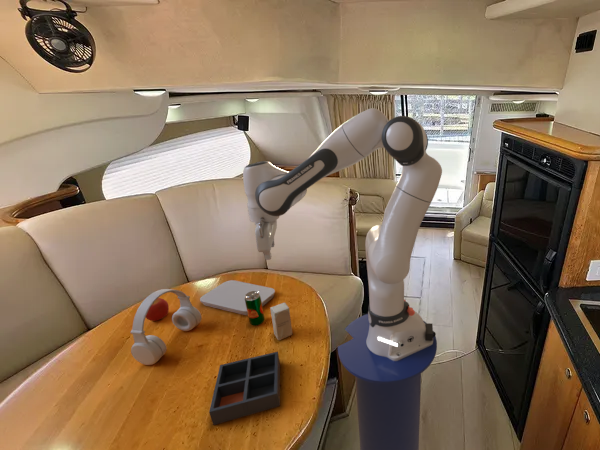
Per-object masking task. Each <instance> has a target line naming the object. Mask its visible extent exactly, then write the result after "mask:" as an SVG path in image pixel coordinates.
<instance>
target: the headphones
mask: <svg viewBox="0 0 600 450" xmlns="http://www.w3.org/2000/svg"><path fill="white" fill-rule="evenodd" d="M167 293H172V294H174V295H176V296H177V299H178V300H179V308H178V309H177V311H175V312H174V313H173V314H172V316H171V323H172V324H173V325H174V327H176V328H177V329H178V330H180V331H184V332H188V331H191V330H193V329H194V328H195V327H197V326H199V324H200V323H201V322H202V319H203V318H202V314H201V312H200V311H199V309H198V308H197V307H195V306H194V305H193V304H192V302H191V300H190V299H191V296H190V295H187V294H186V293H185V292H184V291H182V290H180V289H170V288H162V289H158V290H156V291H153V292H152V293H150V294H149V295H147V296H146V298H144V299H143V300H142V302H141V303H140V305H139V306H138V308H137V309H136V312H135V314H134V317H133V322H132V327H131V330H130V334H131V335H132V337H133V344H132V345H131V348H130V354H131V355H132V357H133V359H134V360H135V361H136V362H138V363H140V364H142V365H146V366H152V365H154V364H156V363H157V362H158V361H160V359H161V358H162V357H163V356H164V355H165V354H166V353H167V349H168V347H167V344H166V343H165V342H164V340H163V339H162V338H161V337H159V336H157V335H153V334H149V335H146V334H145V333H146V331H145V330H144V327H145V321H146V319H147V318H146V315H147V312H148V310H149V308H150V307H151V305H152V304H153V303H154V301H155V300H156V299H157V298H161V296H163V295H165V294H167Z"/></svg>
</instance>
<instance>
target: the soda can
mask: <svg viewBox="0 0 600 450" xmlns="http://www.w3.org/2000/svg"><path fill="white" fill-rule="evenodd" d="M245 303H246V308H247V313H248V315H247V316H248V321H249V325H250V326H253V327H257V326H260V325H262V324H263V323H264V322H265V320H266V318H265V313H264V306H262V302H261V297H260V294H259V293H258V292H257V291H251V292H248V293H247V294H246V295H245Z"/></svg>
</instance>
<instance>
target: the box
mask: <svg viewBox="0 0 600 450" xmlns="http://www.w3.org/2000/svg"><path fill="white" fill-rule="evenodd" d="M269 308H270V309H269V310H270V315H271V321H272V328H273V334H274V336H275V338H276V339H277V340H278V341H281V340H284V339H285V338H288V337H290V336H292V335H293V327H292V319H291V312H290V307H289V306H288V304H287V303H286V302H282V303H279V304H276V305H274V306H271V307H269Z"/></svg>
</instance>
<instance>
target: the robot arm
mask: <svg viewBox="0 0 600 450" xmlns="http://www.w3.org/2000/svg"><path fill="white" fill-rule="evenodd" d="M428 146H429V138H428V135H427V133H426V130H425V128H424V127H423V126H422V124H421V123H420V122H419V121H417V120H416V119H414V118H412V117H410V116H407V115H398V116H394V117H393V118H391V119H388V117H387V116H386V114H385V113H384V112H383V111H381V110H380V109H378V108H376V107H372V108H371V107H369V108H367V109H366V110H363V111H361V112H359V113H357V114H355V115H354V116H352V117H351V118H349V119H348V120H347V121H345V122H343V123H342V124H341V125H339V127H337V128H336V129H335V130H334V131H333V132H332V133H330V135H328V137H327V138H326V139H325V140H324V141H323V142H322V143H321V144H320V145H319V146H318V147H317V149H316V150H315V151H314V152H313V153H312V154H311V155H309V157H308V158H306V159H305V160H304V161H303V162H301V163H300V164H298V165H297V166H296V167H294V168H293V169H291V170H290V171H287V170H285V169H281V168H279V167H278V166H277V167H276V166H275V165H273V164H272V162H270V161H268V160H267V161H266V160H262V161H256V162H252V163H250V164H247V165H246V166H244V167H243V171H242V181H243V189H244V194H245V196H246V198H247V202H246V203H247V204H246V205H247V212H248V217H249V221H250V222H251V223H254V225H255V229H254V231H255V232H254V234H255V235H254V236H255V243H256V250H257V252H258V253H262V254H263V256H264V260H265V261H269V260H271V259H272V253H271V250H272V248H274V247H275V235H276V231H277V228H278V227H277V226H278V219H280V217H281V216H283V215H285V214H286V213H287V212H288V211H289V210H290V209H291V208H293V207H294V206H295V205H296V204H297V203H299V202H300V201H301V200H303V198H304V197H306V195H307V190H308V189H309V188H310V187H312V186H313V185H314V184H316V183H317V182H319V181H321V180H322V179H324V178H326V177H328V176H331V175H333V174H335V173H337V172H340V171H343V170H345V169H347V168H349V167H352V166H354V165H355V164H357V163H359V162H362V160H364V159H365V158H367V157H369V156H370V155H371V154H373V153H374V152H376V151H377V150H379V149H384V150H385V152H386V153H387V154H388V155H389V156H390V157H391V158H392V159H394V160H395V161H396V162H397V164H399V165H400V166H402V171H401V174H400V176H399V179H398V181H397V183H396V185H395V187H394V189H393V191H392V194H391V195H390V198H389V200H388V202H387V204H386V207H385V208H384V213H383V218H382V223H381V224H376V225H374V226H372V227H371V228H370V229H369V230H368V232H367V233H366V237H365V242H364V244H365V245H364V248H365V259H366V260H365V261H366V270H367V281H368V297H369V298H368V299H369V303H368V311H367V314H368V318H369V323H370V326H369V333H368V337H367V340H366V344H367V347H368V348H369V350H370V351H371V352H373V353H374V354H376V355H379V356H384V357H387V358H389V359H391V360H393V361H398V360H400V359H402V358H405V357H407V356H409V355H411V354H413V353H415V352H418V351H420V350H422V349H424V348H426V347H429V346H431V345H432V344H433V337H435V336H436V334H437V333H436V332H435V331H434V327H433V325H434V324H433V323H429V322H428V323H427V322H426V323H424V321H425V320H424V319H423V318H422V316H421V315H420V314H419V313H418V312H417V311H415V310H414V307H410V304H409V302H407V301H406V299H405V279H406V278H407V276H408V275H409V273H410V269H411V259H412V255H413V250H414V247H415V245H416V240H417V236H418V232H419V229H420V228H421V227H420V226H421V224H422V222H423V220H424V218H425V216H426V214H427V212H428V210H429V208H430V207H431V206H430V205H431V203H432V202H433V199H434V197H435V195H436V193H437V190H438V189H439V184H440V182H441V178H442V175H443V168H442V165H441V164H440V162H439V161H438V160H436V158H434V157H433V156H430V155H429V154H428V153H427V150H428Z"/></svg>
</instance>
